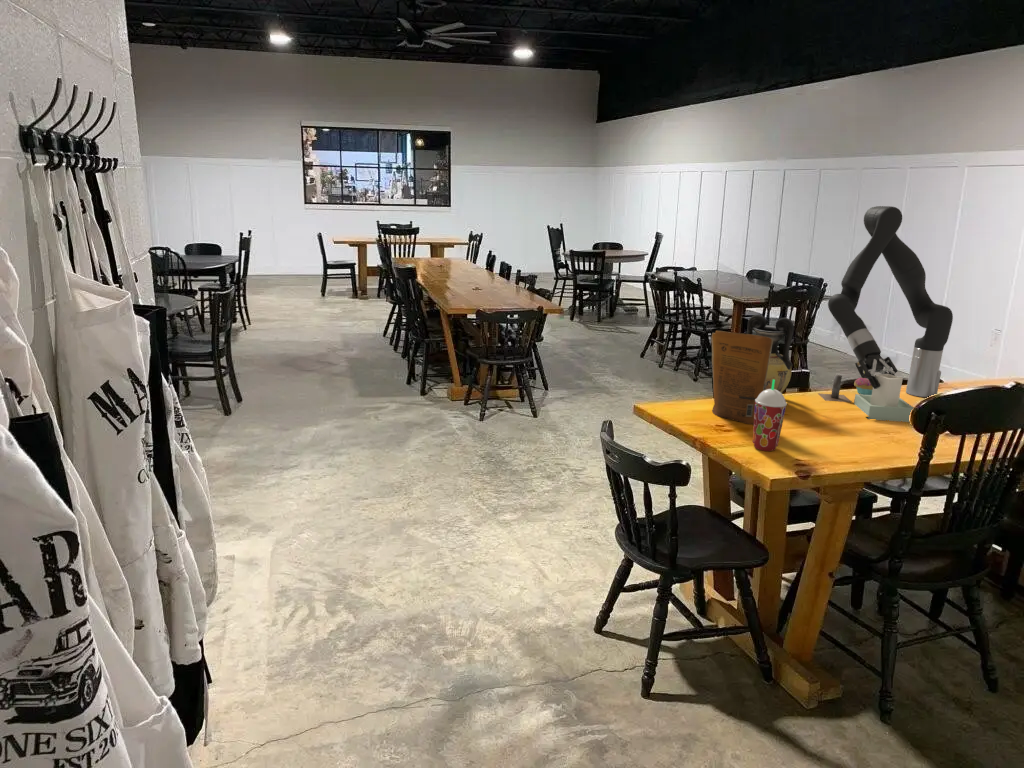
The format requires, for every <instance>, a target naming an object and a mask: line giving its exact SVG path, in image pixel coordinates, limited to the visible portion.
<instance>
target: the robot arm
mask: <svg viewBox="0 0 1024 768" xmlns="http://www.w3.org/2000/svg"><path fill="white" fill-rule="evenodd" d="M902 222H903V213H902V211H901V210H900V209H899V208H898V207H895V206H889V205H887V206H884V205H882V206H881V205H880V206H877V205H876V206H872V207H870V208H868V209H867V210H866V212H865V213H864V216H863V225H864V228H865V230H866V231H867V233H868V234H869V235H870V239H869V241H868V243H867V244H866V246H865V247H863V249H862V250H861V251H860V252H859V253H858V254H857V255H856V256H855V257H854V259H853V260H852V261H851V262H850V264H849V266H848V267H847V270H846V271H845V273H844V275H843V278H842V280H841V284H840V285H841V288H842V289H841V292H840V293H836V294H833V295H832V296H831V297H830V298H829V299H828V302H827V307H828V311H829V312H830V314H831V315H832V316H833V318H834V319H835V321H836V322H837V324H838V325H839V326H840V328H841V329H842V332H843V334H844V335H845V336H844V337H846V339H847V341H848V344H849V347H850V348H851V350H852V351H853V354H854V355H855V358H856V359H857V361H856V362H855V363H854V364H855V366H856V369H857V371H858V372H859V373H858V374H859V375H860V377H862V378H867V379H868V380H869V381H870V383H871V385H872V386H873V388H874V389H877V388H878V387H880V384H879V382H878V380H877V378H876V377H875V373H880V374H890V375H894V376H896V375H895V374H896V373H897V372H898V371H899V370H898V369H897V367H896V365H895V364H894V363H893V361H892V359H891V357H890V356H886V357H885V358H883V357H882V356H881V352H882V350H881V348H880V347H879V345H878V342H877V341H876V340H875V338H874V336H873V334H872V333H871V332H870V330H869V329H868V327H867V325H866V324H865V322H864V321H863V319H862V317H860V316H859V315H858V314H857V313H856V311H855V310H856V308H857V307H858V304H859V299H860V298H861V297H860V296H861V293H862V289H863V288H864V286H865V284H866V281H867V279H868V278H869V275H870V273H871V271H872V269H873V267H874V265H876V262H877V261H878V259H880V256H881V255H883V257H884V258H883V259H885V261H886V264H887V266H889V270H890V272H892V275H893V276H894V279H895V280H896V282H897V284H898V285H899V288H900V289H901V291H902V293H903V295H904V297H905V299H906V300H907V303H908V305H909V307H910V310H911V313H912V316H913V318H914V320H915V322H916V324H917V325H918V326H919V327H921V328H923V329H925V331H924V335H923V336H922V337H919V338H916V339H915V341H914V345H913V352H912V356H911V363H910V367H909V372H908V379H907V383H906V384H907V385H906V390H905V393H906V394H908V395H911V396H914V397H915V396H916V397H920V398H929V397H928V396H931V395H934V394H937V395H938V390H939V385H940V380H941V376H942V375H941V374H942V371H941V370H940V367H941V363H942V362H941V361H942V358H943V352H944V349H945V348H944V347H945V346H946V345H947V342H948V340H949V338H950V337H949V336H950V333H951V329H952V324H953V320H954V317H953V315H954V314H953V312H952V310H951V308H949V307H948V306H945V305H942V304H938V303H935V302H934V301H933V300H932V298H931V297H930V295H929V294H928V292H927V289H926V279H927V278H926V270H925V268H924V266H923V264H922V262H921V260H920V259H919V257H918V255H917V254H916V252H914V250H913V249H911V248H910V246H908V245H907V244H906V243H905V242H904V241H903V240H902V239H900V238H899V236H898V234H897V232H898V230H899V228H900V227H901V225H902ZM864 372H865V373H864Z"/></svg>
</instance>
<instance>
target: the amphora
mask: <svg viewBox="0 0 1024 768" xmlns="http://www.w3.org/2000/svg"><path fill="white" fill-rule="evenodd" d="M794 329H795V325H794V322H793V321H792V320H791V319H790V318H788V317H781V318H779V319H778V320H777V321H776V323H775V325H768V324H767V319H766V318H765V317H764V315H762V314H754V315H752V316H751V317H750V318H749V319H748V321H747V330H746V334H752V335H754V334H753V333H754V331H755V333H756V334H755V335H759V336H765V337H769V338H771V339H773V344H772V349H771V355H770V359H769V365H768V371H767V376H766V381H765V384H764V389H763V391H764V390H766V389H771V388H772V381H773V379H774V380H775V384H774V389H775V390H778V391H779V392H781V393H782V394H783V393H784V391H785V390H786V389H787V387H788V385H789V382H790V381H791V377H792V367H793V366H794V364H793V363H792V361H791V360H790V348H791V343H792V339H793V335H794V331H795V330H794ZM784 335H786V337H785V342H784V345H783V351H782V354H781V353H779V350H778V345H779V341H780V340H782V339H783V337H784Z"/></svg>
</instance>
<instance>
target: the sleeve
mask: <svg viewBox="0 0 1024 768" xmlns="http://www.w3.org/2000/svg"><path fill="white" fill-rule="evenodd" d="M894 375H895V374H894ZM894 375H890V374H881V373H880V374H874V376H875V377H876V378H877V380H878V382H879V384H880V387H878V388H877V389H874V388H873V389H872V395H871V401H870V404H871V405H874V406H890V407H898V401H899V398H900V395H901V389H902V385H903V384H902V383H903V379H904V378H903V377H900V376H896V375H895V376H894Z"/></svg>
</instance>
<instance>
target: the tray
mask: <svg viewBox="0 0 1024 768" xmlns="http://www.w3.org/2000/svg"><path fill="white" fill-rule="evenodd" d="M853 400H854V402H853V404H854V405H855V406H856V407H857V408H858V409H859V410H861V411H862V412H863V413H864V414H865V415H867V416H865V418H866V419H867V420H870V419H876V420H875V421H886V420H887V421H886V422H888V420H889V422H901V421H902V423H905V422H906V423H910V422H909V415H910V412H911V410H912V409H913V408H915V407H913V406H912V405H911V404H909V403H908V402H906V401H905V400H904V399H902V398H901V397H899V401H898V407H890V406H874V405H871V404H870V401H871V395H862V394H859V393H855V395H854V399H853Z"/></svg>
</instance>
